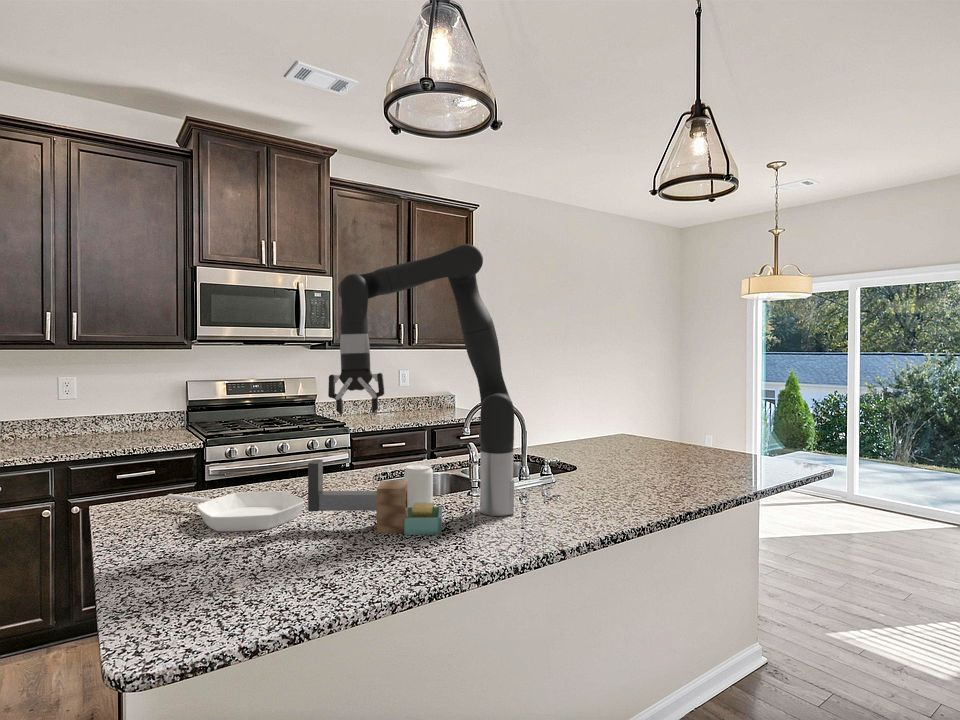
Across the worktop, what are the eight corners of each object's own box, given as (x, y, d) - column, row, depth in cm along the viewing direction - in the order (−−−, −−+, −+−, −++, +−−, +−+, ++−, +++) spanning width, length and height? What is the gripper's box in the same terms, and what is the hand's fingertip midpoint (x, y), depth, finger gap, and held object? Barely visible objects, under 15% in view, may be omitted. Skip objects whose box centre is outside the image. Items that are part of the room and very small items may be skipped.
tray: (442, 521, 159) (442, 506, 158) (441, 534, 148) (441, 518, 147) (408, 521, 158) (408, 506, 158) (404, 534, 147) (404, 518, 147)
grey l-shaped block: (395, 505, 155) (395, 459, 155) (393, 511, 150) (393, 463, 150) (312, 506, 154) (312, 459, 154) (308, 511, 149) (308, 463, 149)
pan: (252, 541, 142) (252, 522, 142) (125, 521, 156) (125, 505, 156) (321, 511, 168) (321, 495, 168) (206, 496, 182) (206, 482, 182)
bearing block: (407, 523, 157) (407, 481, 156) (405, 532, 149) (405, 488, 148) (380, 523, 156) (380, 481, 156) (376, 532, 148) (376, 488, 148)
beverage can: (428, 513, 166) (428, 470, 166) (400, 511, 168) (400, 468, 167) (436, 505, 174) (436, 464, 174) (409, 503, 176) (409, 463, 175)
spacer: (414, 521, 155) (433, 521, 155) (412, 527, 150) (431, 527, 150) (414, 502, 155) (433, 502, 155) (412, 507, 150) (431, 508, 150)
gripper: (383, 350, 161) (386, 410, 161) (330, 352, 160) (332, 412, 161) (381, 351, 153) (383, 414, 154) (324, 352, 153) (327, 416, 153)
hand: (357, 413), depth 157 cm, fingers open, 8 cm apart
